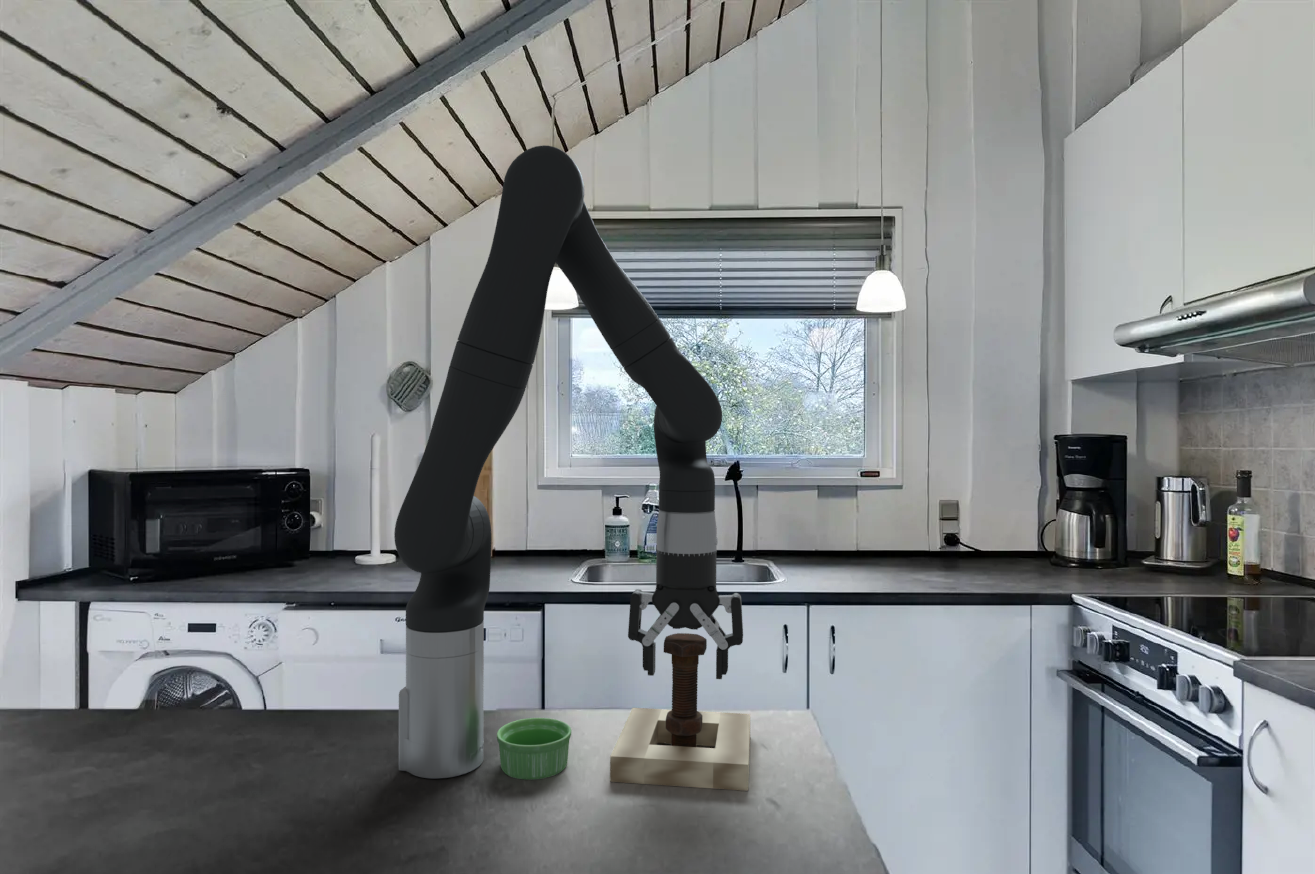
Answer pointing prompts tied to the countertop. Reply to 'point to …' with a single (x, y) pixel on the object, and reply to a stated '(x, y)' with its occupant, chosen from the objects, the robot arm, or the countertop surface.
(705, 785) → the frame
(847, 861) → the countertop surface
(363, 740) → the countertop surface
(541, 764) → the ramekin
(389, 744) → the countertop surface
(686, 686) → the bolt
